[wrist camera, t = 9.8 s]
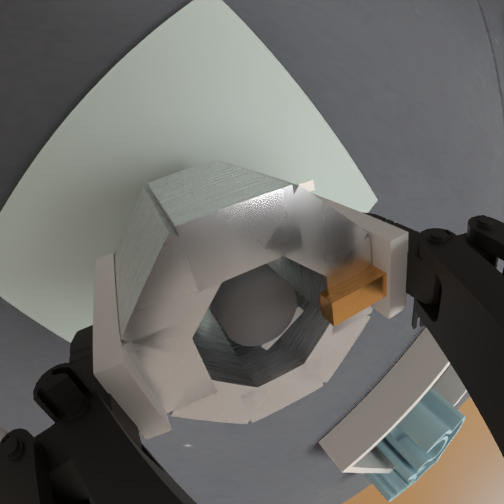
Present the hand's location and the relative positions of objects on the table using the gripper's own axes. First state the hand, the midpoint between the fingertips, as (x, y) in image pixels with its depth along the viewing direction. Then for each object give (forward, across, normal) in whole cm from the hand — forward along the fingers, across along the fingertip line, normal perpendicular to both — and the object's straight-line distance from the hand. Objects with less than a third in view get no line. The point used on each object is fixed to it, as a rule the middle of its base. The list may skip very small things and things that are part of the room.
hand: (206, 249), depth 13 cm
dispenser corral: (+4, +21, -30) cm, 37 cm away
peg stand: (+4, 0, 0) cm, 4 cm away
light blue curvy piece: (+5, +18, -39) cm, 43 cm away
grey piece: (0, 0, 0) cm, 0 cm away
